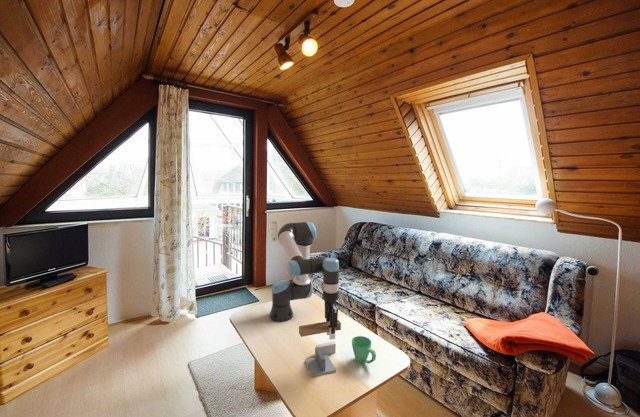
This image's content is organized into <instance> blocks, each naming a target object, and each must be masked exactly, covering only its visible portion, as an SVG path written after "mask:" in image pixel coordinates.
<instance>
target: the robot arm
mask: <svg viewBox="0 0 640 417" xmlns="http://www.w3.org/2000/svg"><path fill="white" fill-rule="evenodd" d="M317 237H318V236H317V229H316V226H315V224H314V223H313V222H312V221H303V222H301V221H300V222H287V223H285V224H284V225H282V226H281V227H280V229H279V230H278V231H277V240H278V243H279V244H280V245H281V246H282V249H283V251H284V253H285V255H286V257H287V260H288V262H287V265H286V266H287V273H288V275H289V276H290V277H293V278H292V279H293V280H292V282H291V281H290V280H289V279H281V280H278V281H276V282H274V283H273V284H272V287H271V298H272V299H271V301H272V303H271V304H272V306H271V309H270V312H269V318H270V320H272V321H273V322H279V323H280V322H287V321H290V320H291V319H292V318H293V317H294V313H293V309H292V306H291V301H297V300H306V299H309V298H311V297H312V295H313V292H314V285H313V284H314V283H313V281H312V280H311V278H310V277H309V275H314V274H315V275H316V274H322V280H323V281H322V285H321V286H322V289H323V291H322V298H323V301H324V319H325V320H326V321H325V322H327V321H330V326H329V332H326V335H327V336H329V337H328V338H329V340H335V339H336V331H335V328H336V327H337V320H338V317H339V308H337V303H336V301H338V300H339V298H340V296H339V290H340V280H339V277H340V274H339V273H340V263H339V259H337V258H336V257H327V256H324V255H318V256H316V257H315V258H311V246H312V245H313V242H314V241H315V240H317Z"/></svg>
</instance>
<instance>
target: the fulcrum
mask: <svg viewBox="0 0 640 417" xmlns="http://www.w3.org/2000/svg"><path fill="white" fill-rule="evenodd" d="M314 348H315V349H314V355H315V356H314V357H311V358H306V359H304V362H305V365H306V367H307V370H308V371H309V374H310V376H311V378H314V377H320V376H322V375H323V376H324V375H327V374H332V373H337V372H336V371H337V369H336V368H335V366H334V364H333V362H332V360H331V359H330V357H329V354H328V355H323V354H322V352H321V350H320V348H319V347H316V346H315V347H314Z"/></svg>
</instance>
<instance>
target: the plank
mask: <svg viewBox="0 0 640 417" xmlns="http://www.w3.org/2000/svg"><path fill="white" fill-rule="evenodd" d="M329 326H330V321H321V322H315V323H310V324H304V325H299V326H298V333H299V336H300V337H301V338H303V337H308V336H312V335H314V336H315V335H319V334H324V333H326V334H327V332H329ZM341 326H342V323H341V321H340V320H339V319H337V327H336V328H335V332H336V331H341V330H342V327H341Z"/></svg>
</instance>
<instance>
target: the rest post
mask: <svg viewBox="0 0 640 417" xmlns="http://www.w3.org/2000/svg"><path fill="white" fill-rule="evenodd" d="M316 347H319V348H320V350H321V352H322V354H323V355H324V356H325V355H328V356H329V355H332V354H336V343H335V341H329V342H328V341H327V342H324V343H319V344H315V348H316Z"/></svg>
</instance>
